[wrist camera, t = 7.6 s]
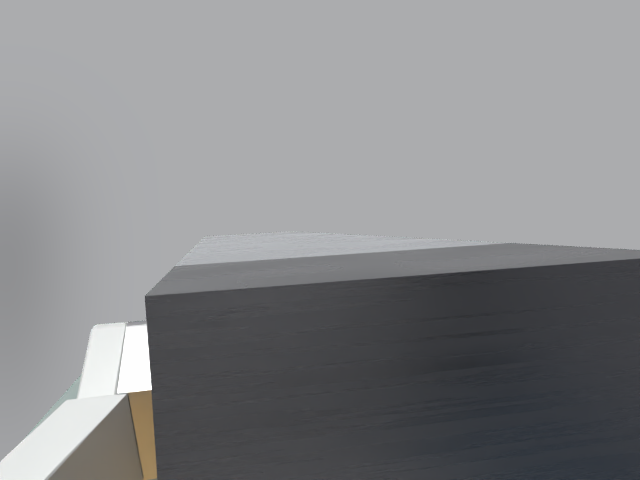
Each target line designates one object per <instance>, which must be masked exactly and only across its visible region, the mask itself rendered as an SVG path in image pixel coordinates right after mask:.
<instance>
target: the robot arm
mask: <svg viewBox="0 0 640 480" xmlns="http://www.w3.org/2000/svg"><path fill="white" fill-rule="evenodd" d="M156 478H157V467H156V452H155V438H154V423H153V408H152V393H151V378H150V364H149V349H148V334H147V321H135V322H128V323H125V322H124V323H111V324H98V325H94V327H93V328H92V330H91V333H90V337H89V342H88V346H87V352H86V356H85V361H84V365H83V370H82V375H81V379H80V384H79V389H78V394H77V398H76V399H71V400H66V401H65V402H64V403H63V404H62V405H60V406H59V407H58V408H57V409H56V410H55V411H54V412H53V413H52V414H51V415H50V416H49V417H48V418H47V419H45V420H44V421H43V422H42V423H41V424H40V425H39V426H38V427H37V428H36V429H35V430H34V431H33V432H31V433H30V434H29V435H28V436H27V437H26V438H25V439H24V440H23V441H22V442H21V443H20V444H19V445H18V446H17V447H15V448H14V449H13V450H12V451H11V452H10V453H9V454H8V455H7V456H6V457H5V458H4V459H3V460H2V461H0V480H149V479H156Z"/></svg>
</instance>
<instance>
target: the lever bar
mask: <svg viewBox="0 0 640 480" xmlns="http://www.w3.org/2000/svg"><path fill="white" fill-rule="evenodd" d="M145 305H146V319H147V334H148V349H149V364H150V378H151V393H152V408H153V423H154V438H155V452H156V467H157V480H640V250H627V249H610V248H591V247H572V246H553V245H535V244H517V243H498V242H481V241H462V240H442V239H425V238H407V237H388V236H370V235H351V234H333V233H314V232H296V231H290V232H273V233H258V234H257V233H256V234H240V235H225V236H207V237H204V238H203V239H202V240H201V241H200V242H199V243H198V244H197V245H196V246H195V247H194V248H193V249H192V250H191V251H190V252H189V253H188V254H187V255H186V256H185V257H184V258H183V259H182V260H181V261H180V262H179V263H178V264H177V265H176V266H175V267H174V268H173V269H172V270H171V271H170V272H169V273H168V274H167V275H166V276H165V277H164V278H163V279H162V280H161V281H160V282H159V283H158V284H157V285H156V286H155V287H154V288H152V290H151V291H150V292H148V294H146V296H145Z"/></svg>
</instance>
